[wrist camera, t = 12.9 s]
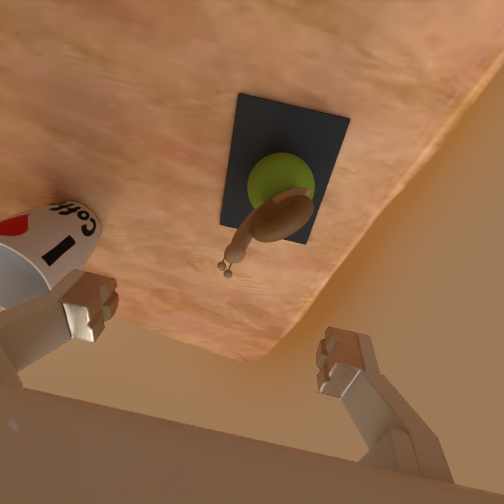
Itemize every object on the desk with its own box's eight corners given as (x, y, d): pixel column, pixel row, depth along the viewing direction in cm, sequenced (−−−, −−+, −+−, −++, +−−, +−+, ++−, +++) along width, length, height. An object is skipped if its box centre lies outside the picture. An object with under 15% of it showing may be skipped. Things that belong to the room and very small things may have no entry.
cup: (124, 217, 31) (63, 275, 23) (101, 264, 35) (41, 328, 27) (50, 171, 29) (-47, 217, 21) (34, 227, 33) (-51, 283, 25)
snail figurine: (231, 171, 26) (191, 240, 17) (294, 132, 24) (292, 185, 14) (262, 218, 29) (244, 304, 19) (323, 186, 26) (340, 266, 16)
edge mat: (239, 92, 23) (238, 93, 23) (349, 118, 23) (350, 119, 23) (220, 223, 30) (219, 224, 30) (305, 242, 30) (306, 244, 30)
